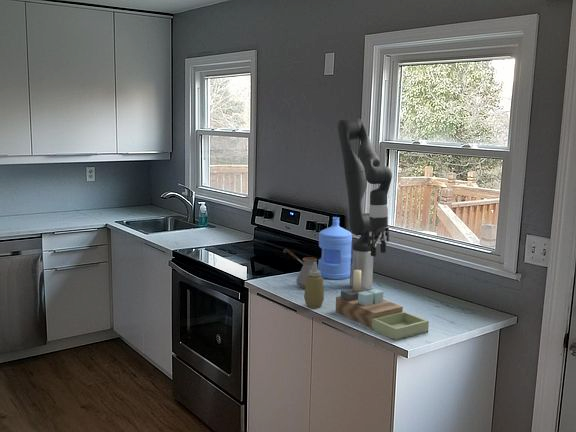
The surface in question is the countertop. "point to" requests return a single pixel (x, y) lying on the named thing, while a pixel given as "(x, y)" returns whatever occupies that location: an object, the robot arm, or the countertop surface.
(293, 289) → the countertop surface
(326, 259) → the water jug
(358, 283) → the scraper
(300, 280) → the coffee pot
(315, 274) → the squeeze bottle
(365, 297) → the pale blue cube
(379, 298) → the light blue block
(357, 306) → the flat wooden board
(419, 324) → the bin
